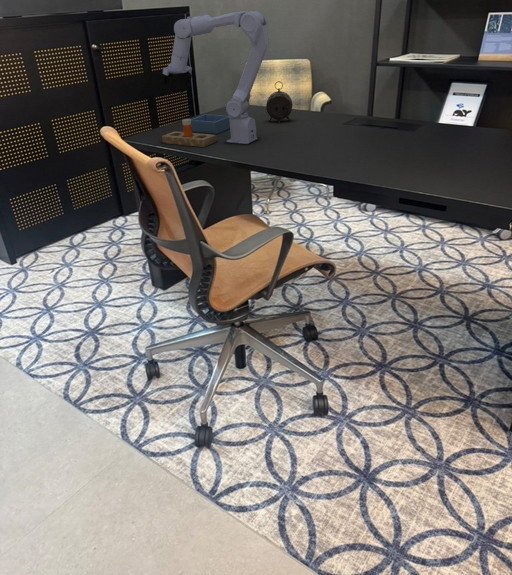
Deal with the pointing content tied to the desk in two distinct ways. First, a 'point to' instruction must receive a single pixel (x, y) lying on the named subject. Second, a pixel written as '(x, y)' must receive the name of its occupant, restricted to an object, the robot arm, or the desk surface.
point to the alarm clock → (279, 105)
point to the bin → (210, 123)
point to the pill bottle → (187, 127)
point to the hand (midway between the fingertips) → (173, 92)
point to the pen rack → (189, 139)
